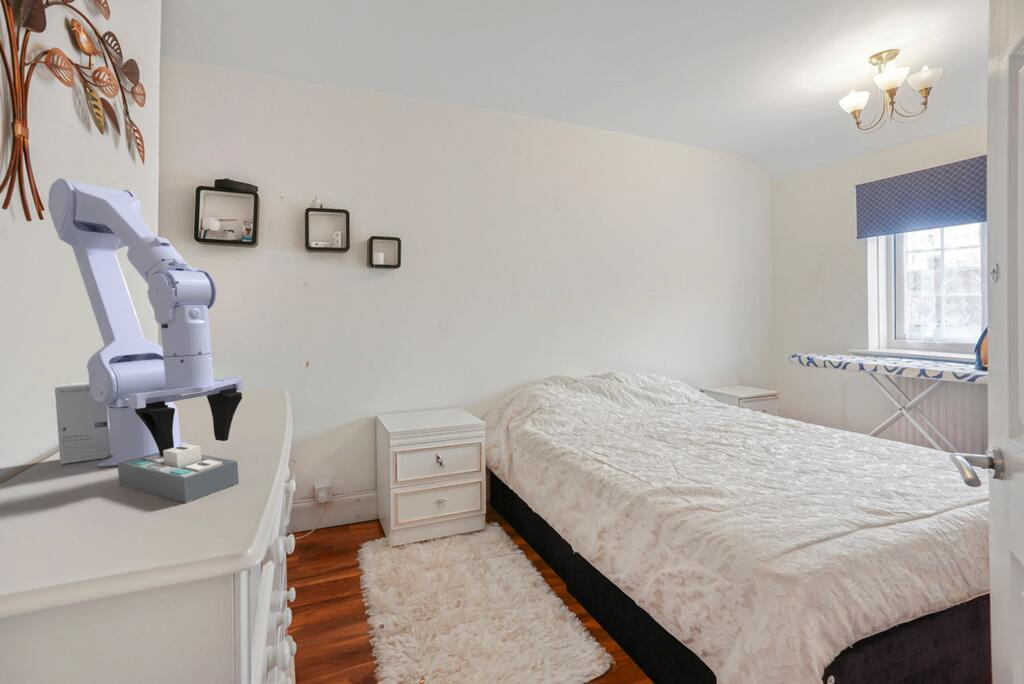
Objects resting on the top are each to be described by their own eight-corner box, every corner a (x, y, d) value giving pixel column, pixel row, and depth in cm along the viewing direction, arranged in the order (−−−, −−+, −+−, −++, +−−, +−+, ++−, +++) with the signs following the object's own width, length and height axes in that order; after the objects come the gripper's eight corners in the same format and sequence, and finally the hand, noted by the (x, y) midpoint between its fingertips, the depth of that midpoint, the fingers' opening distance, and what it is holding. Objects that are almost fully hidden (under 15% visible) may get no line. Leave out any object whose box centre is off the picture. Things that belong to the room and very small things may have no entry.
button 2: (185, 482, 59) (184, 465, 59) (209, 474, 62) (208, 458, 62) (200, 486, 58) (198, 468, 58) (223, 477, 61) (222, 461, 61)
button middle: (164, 466, 61) (163, 449, 61) (188, 458, 64) (187, 443, 64) (177, 468, 60) (176, 452, 60) (201, 461, 63) (200, 445, 62)
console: (119, 485, 62) (117, 461, 62) (173, 468, 68) (171, 447, 68) (185, 503, 56) (183, 476, 55) (238, 483, 61) (237, 459, 61)
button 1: (146, 473, 63) (145, 457, 63) (170, 466, 66) (169, 451, 66) (159, 476, 62) (157, 460, 62) (183, 468, 65) (181, 453, 64)
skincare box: (59, 465, 71) (51, 387, 70) (67, 458, 75) (59, 384, 74) (112, 457, 75) (104, 383, 74) (116, 450, 78) (109, 379, 77)
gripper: (145, 361, 58) (155, 466, 59) (253, 349, 71) (259, 436, 72) (116, 360, 61) (125, 460, 62) (224, 349, 74) (231, 432, 75)
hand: (195, 447), depth 68 cm, fingers open, 7 cm apart
